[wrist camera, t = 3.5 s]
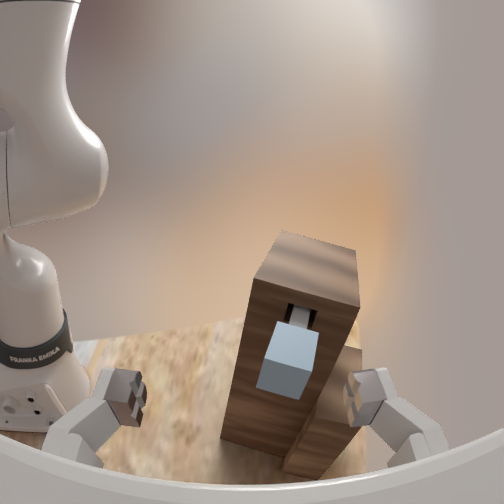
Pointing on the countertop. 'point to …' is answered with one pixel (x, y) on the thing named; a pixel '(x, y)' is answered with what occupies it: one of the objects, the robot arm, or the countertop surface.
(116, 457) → the countertop surface
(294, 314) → the plug
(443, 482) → the robot arm
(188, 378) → the countertop surface
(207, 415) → the countertop surface
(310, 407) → the stand
